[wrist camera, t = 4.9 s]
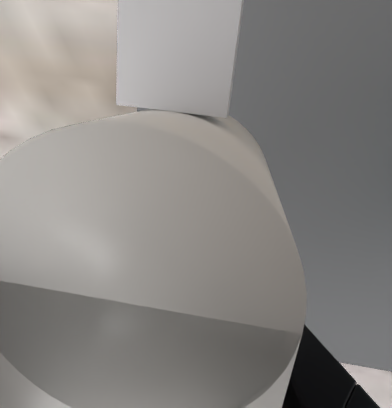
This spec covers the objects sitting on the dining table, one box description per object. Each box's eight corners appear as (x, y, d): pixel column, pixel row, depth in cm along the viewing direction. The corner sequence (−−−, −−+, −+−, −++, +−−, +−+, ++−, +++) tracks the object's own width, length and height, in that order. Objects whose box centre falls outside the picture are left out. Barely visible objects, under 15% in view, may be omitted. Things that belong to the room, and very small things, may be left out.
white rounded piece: (230, 394, 11) (222, 621, 6) (107, 370, 11) (14, 567, 7) (307, 0, 7) (448, -195, 2) (111, -17, 7) (-125, -214, 3)
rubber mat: (440, 373, 20) (445, 381, 19) (131, 318, 22) (129, 323, 21) (682, -117, 12) (705, -128, 11) (151, -143, 13) (147, -153, 13)
